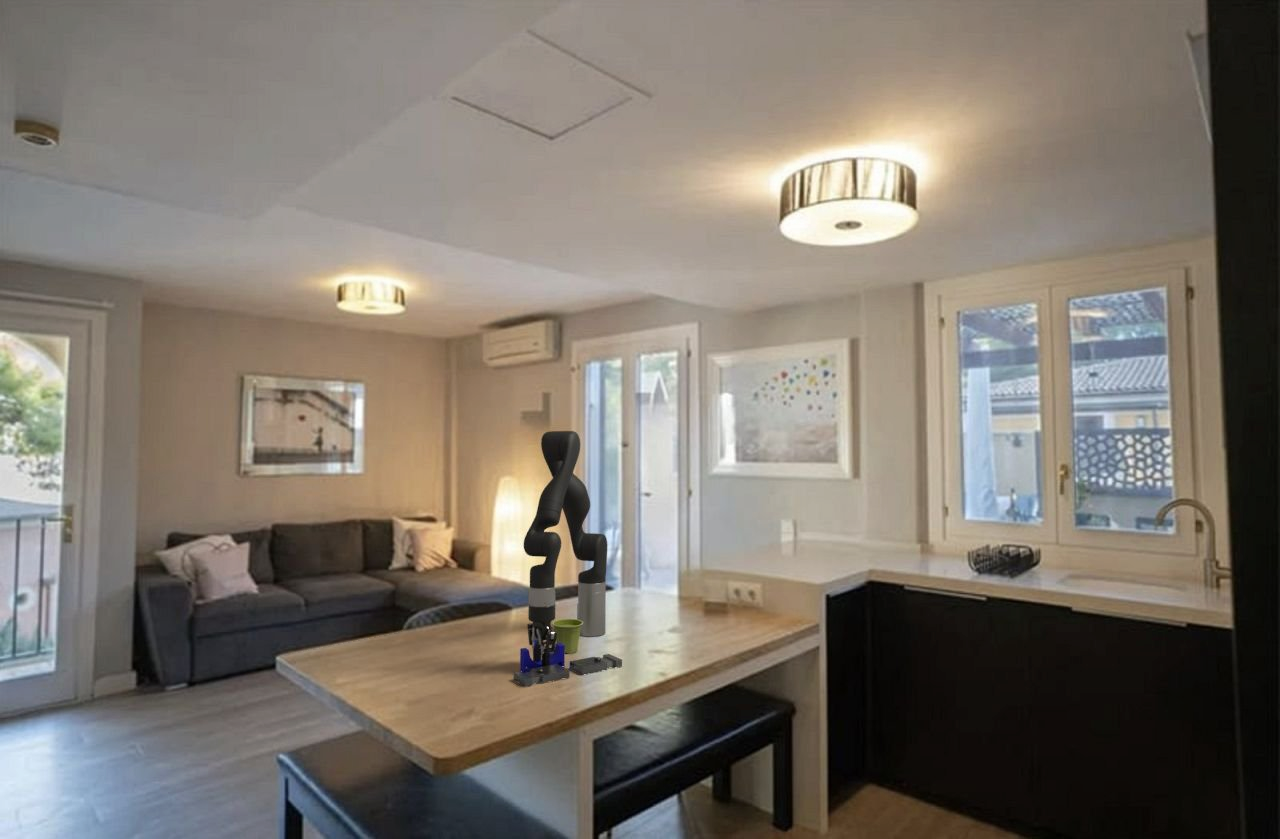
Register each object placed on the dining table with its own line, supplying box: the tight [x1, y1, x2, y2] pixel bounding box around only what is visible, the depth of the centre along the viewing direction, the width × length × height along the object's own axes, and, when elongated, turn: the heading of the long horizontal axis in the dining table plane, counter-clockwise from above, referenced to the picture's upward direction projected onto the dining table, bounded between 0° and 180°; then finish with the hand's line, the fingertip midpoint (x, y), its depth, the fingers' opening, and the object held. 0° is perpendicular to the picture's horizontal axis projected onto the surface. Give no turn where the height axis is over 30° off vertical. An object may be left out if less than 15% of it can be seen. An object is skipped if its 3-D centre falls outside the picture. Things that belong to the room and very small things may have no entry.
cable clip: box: [519, 643, 566, 673], centre depth 195 cm, size 12×4×6 cm, turn 119°
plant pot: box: [551, 618, 583, 655], centre depth 212 cm, size 9×9×9 cm
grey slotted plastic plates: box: [513, 653, 623, 688], centre depth 191 cm, size 7×30×3 cm, turn 125°
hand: (541, 664), depth 195 cm, fingers closed on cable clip, 4 cm apart
